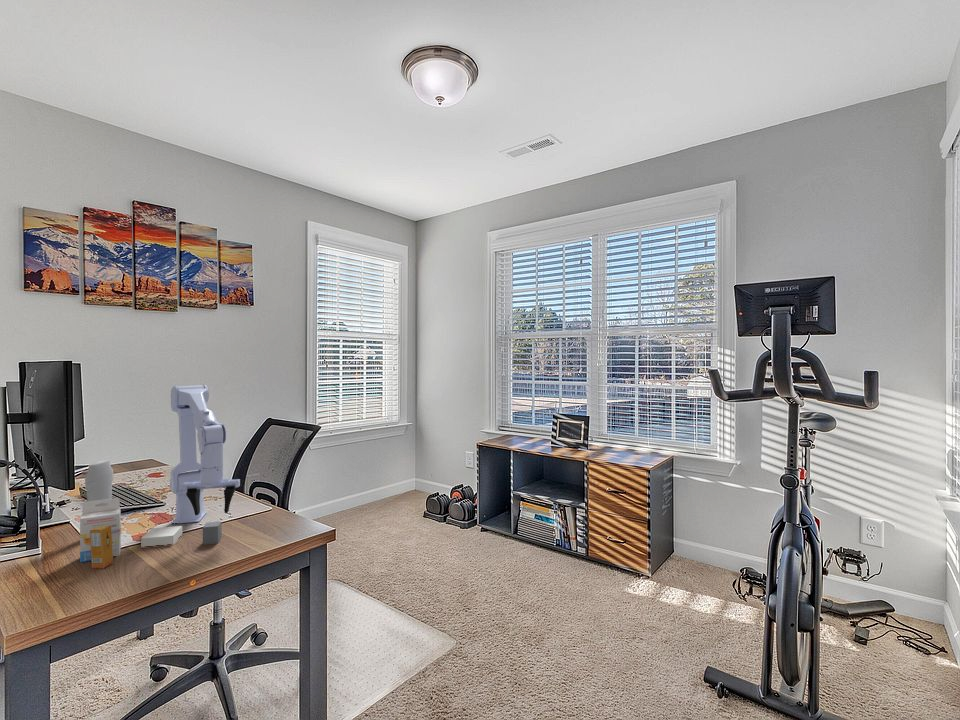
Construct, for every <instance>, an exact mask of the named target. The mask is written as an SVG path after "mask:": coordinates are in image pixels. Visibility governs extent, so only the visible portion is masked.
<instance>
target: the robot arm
mask: <svg viewBox="0 0 960 720" xmlns="http://www.w3.org/2000/svg"><path fill="white" fill-rule="evenodd" d="M209 397H210V392H209V388H208V386H207V385H206V384H200V385H199V384H198V385H173V386H172V387H171V390H170V407H171V408H170V409H171V411H172V412H175V413H177V417H178V431H179V432H178V433H179V436H178V438H179V456H180V458H179V461H180V462H179V463H178V464H177V465H175V466H174V467H173V468H172V469H171V470H170V477H169V478H170V479H169V487H170V492H171V493H173V494H174V495H175V514H176V515H175V518H174V520H173V521H171V524H172V523H174V524H175V523H177V524H186V523H187V524H189V523H196V522H197V523H198V522H200V521H201V520H203V518H204V517H205V516H206V515H207V514H208V511H207V510H204V509H205V507H204V505H205V502H204V498H205V497H204V496H205V495H204V493H203V492H204V490H209V489H210V490H211V489H222V488H223V496H224V497H223V498H224V508H223V509H224V514H228V513H229V511H230V506H231V501H232V499H233V495H234V494H235V491H236V489H237V488H239V487H240V486H241V479H239V478H237V479H232V478H228V479H227V478H224V444H225V443H226V440H227V431H226V427H225V425H224V424H223V423H221V422H218V419H217V418H216V415H215V413H214V412H213V411H212V410H211V409H208V405H207V403H208V402H209V399H210V398H209ZM197 443H198V451H199V453H200V454H199V455H200V461H198V458H197V456H198V455H197V454H198V453H197ZM175 525H176V524H175Z"/></svg>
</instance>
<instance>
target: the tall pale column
mask: <svg viewBox="0 0 960 720" xmlns="http://www.w3.org/2000/svg"><path fill="white" fill-rule="evenodd" d="M113 481H114V469H113V468H112V466H111V462H110V459H106V460H97V461H95V462H94V463H92V464H89V465H88V469H87V475H86V476H85V478H84V488H85V490H86V496H87V497H86V500H87V501H86V502H88V501H96V500H103V499H112V498H113V491H112V490H113ZM107 505H108V504H107V503H105V504H103V503H100V504H98V505H95V507H99V506H107Z"/></svg>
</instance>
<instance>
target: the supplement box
mask: <svg viewBox="0 0 960 720" xmlns="http://www.w3.org/2000/svg"><path fill="white" fill-rule="evenodd" d="M90 542H91V560H92V561H91V568H92V569H105V568H106V567H108V566H110V565H112V564H113V562H114V559H113V558H114V557H113V552H112V532H111V526H98V527H96V528H94V529H92V530H90Z"/></svg>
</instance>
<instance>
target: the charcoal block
mask: <svg viewBox="0 0 960 720" xmlns="http://www.w3.org/2000/svg"><path fill="white" fill-rule="evenodd" d="M222 535H223V534H222V521H220V520H219V521H209V522H207V521H206V522H205V524H204V525H203V526H202V545H210V544H211V545H212V544H219V543H220V542H221V540H222Z"/></svg>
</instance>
